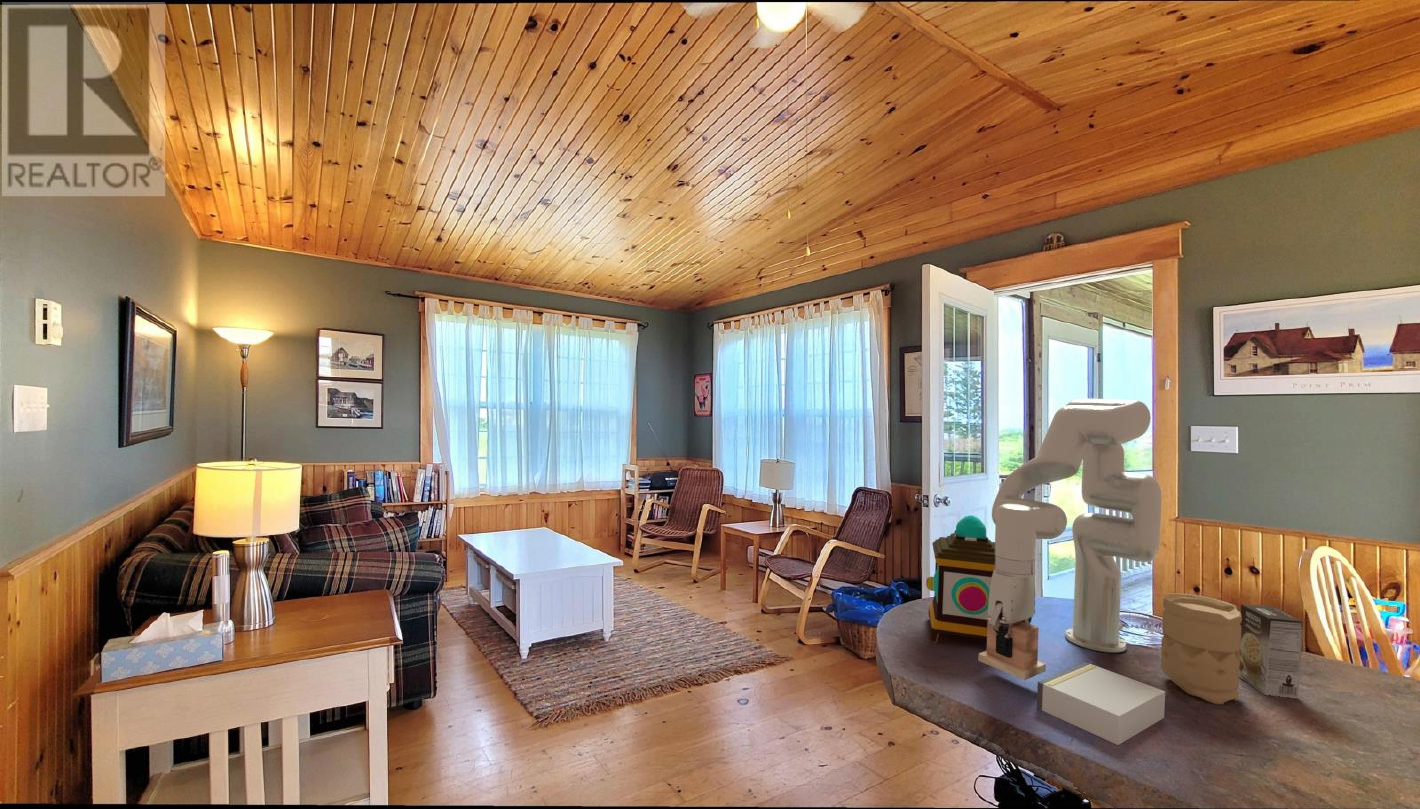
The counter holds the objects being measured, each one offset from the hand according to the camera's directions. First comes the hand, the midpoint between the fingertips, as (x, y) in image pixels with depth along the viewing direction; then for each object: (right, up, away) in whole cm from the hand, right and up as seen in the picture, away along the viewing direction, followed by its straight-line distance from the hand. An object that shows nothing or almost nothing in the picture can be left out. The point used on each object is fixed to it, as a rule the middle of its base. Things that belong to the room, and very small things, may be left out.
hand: (1011, 651), depth 125 cm
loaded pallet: (0, -3, 0) cm, 3 cm away
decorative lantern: (+1, -7, +25) cm, 26 cm away
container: (+38, -8, 0) cm, 39 cm away
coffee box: (+55, -9, +2) cm, 56 cm away
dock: (+11, -7, -12) cm, 18 cm away
